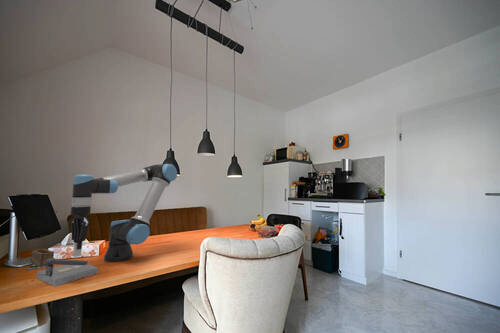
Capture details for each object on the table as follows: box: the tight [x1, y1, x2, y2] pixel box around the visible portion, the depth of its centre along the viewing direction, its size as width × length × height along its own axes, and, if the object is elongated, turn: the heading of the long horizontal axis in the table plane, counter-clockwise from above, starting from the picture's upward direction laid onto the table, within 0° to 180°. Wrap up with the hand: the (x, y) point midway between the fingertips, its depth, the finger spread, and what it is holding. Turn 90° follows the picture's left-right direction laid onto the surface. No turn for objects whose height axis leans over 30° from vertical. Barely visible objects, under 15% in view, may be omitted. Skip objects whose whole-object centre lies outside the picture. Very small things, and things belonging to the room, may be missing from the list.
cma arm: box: [45, 257, 89, 266], centre depth 98 cm, size 19×3×2 cm, turn 87°
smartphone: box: [25, 264, 46, 271], centre depth 118 cm, size 8×15×1 cm, turn 29°
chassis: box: [35, 263, 99, 287], centre depth 105 cm, size 17×18×7 cm
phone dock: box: [30, 248, 55, 267], centre depth 119 cm, size 5×12×7 cm, turn 63°
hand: (77, 255), depth 103 cm, fingers closed
